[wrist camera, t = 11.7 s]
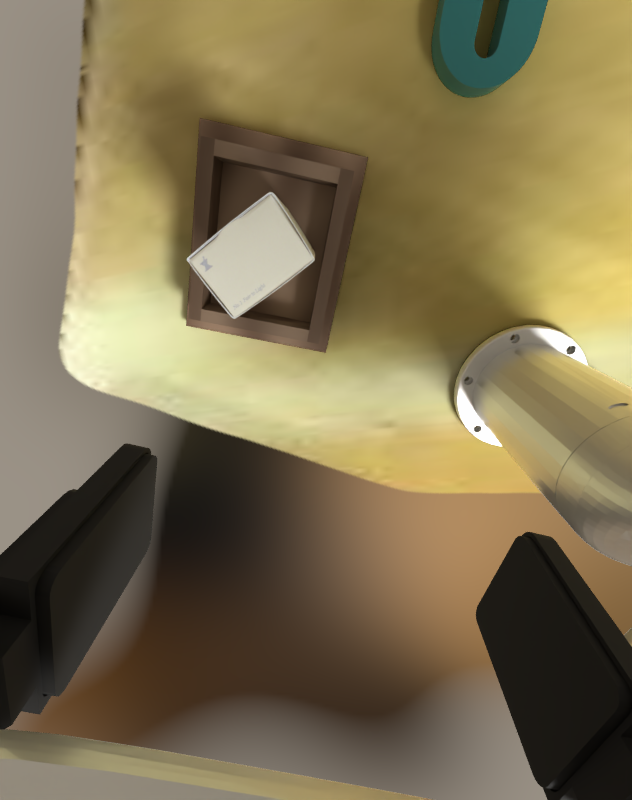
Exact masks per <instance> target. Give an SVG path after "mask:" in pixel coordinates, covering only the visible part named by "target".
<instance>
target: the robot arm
mask: <svg viewBox="0 0 632 800" xmlns="http://www.w3.org/2000/svg"><path fill="white" fill-rule="evenodd" d="M512 335H513V337H512V338H511V336H512ZM510 338H511V339H510ZM466 377H467V379H466V380H464V379H465V378H466ZM454 403H455V408H456V412H457V414H458V416H459V418H460V420H461V422H462V423H463V424H464V426H465V427H466V429H467V430H468V431H469V432H470V433H471V434H472V435H474V436H475V437H477V438H478V439H480V440H481V441H484V442H486V443H489V444H492V445H497V446H502V447H503V448H504V449H505V450H506V451H507V452H508V454H509V455H510V456H511V457H512V458H513V460H514V461H515V462H516V463H517V464H518V465H519V467H520V468H521V469H522V470H523V471H524V473H525V474H526V475H527V476H528V477H529V478H530V480H531V481H532V482H533V483H534V484H535V486H536V487H537V488H538V489H539V490H540V491H541V493H542V494H543V495H544V496H545V497H546V499H547V500H548V501H549V502H550V503H551V504H552V506H553V507H554V508H555V509H556V510H557V511H558V513H559V514H560V515H561V516H562V517H563V518H564V519H565V520H566V522H567V523H568V524H569V525H570V526H571V528H572V529H573V530H574V531H575V532H576V533H577V534H578V535H579V536H580V537H581V538H582V539H583V540H584V541H585V542H586V543H588V544H589V545H590V546H591V547H592V548H594V549H595V550H597V551H599V552H600V553H602V554H604V555H605V556H607V557H609V558H611V559H614V560H616V561H619V562H621V563H624V564H627V565H630V566H632V388H631V387H629V386H627V385H625V384H623V383H621V382H619V381H617V380H615V379H613V378H611V377H609V376H607V375H605V374H603V373H601V372H600V371H598V370H596V369H594V368H592V367H590V366H588V363H587V359H586V356H585V354H584V352H583V351H582V349H581V347H580V346H579V345H578V344H577V343H576V342H575V341H574V340H573V339H572V338H571V337H569V336H568V335H566V334H564V333H563V332H561V331H558V330H556V329H553V328H551V327H546V326H541V325H523V326H517V327H512V328H510V329H507V330H504V331H501V332H499V333H497V334H495V335H494V336H492V337H490V338H488V339H487V340H486V341H484V342H483V343H482V344H480V345H479V346H478V347H477V348H476V349H475V350H474V351H473V352H472V353H471V354H470V355H469V357H468V358H467V359H466V361H465V363H464V364H463V366H462V367H461V369H460V372H459V374H458V376H457V379H456V383H455V388H454ZM156 468H157V457H156V456H154V455H151V451H150V449H149V448H145V447H141V446H136V445H131V444H124V445H123V446H122V447H121V448H119V450H117V452H115V453H114V455H112V456H111V458H109V459H108V460H107V461H106V462H105V463H104V465H102V466H101V468H99V469H98V470H97V471H96V472H95V473H94V474H93V475H92V476H91V477H90V478H89V479H88V480H87V481H86V482H85V483H84V484H83V485H82V486H81V487H80V488H79V489H78V490H75V489H73V490H70V491H68V492H67V493H65V494H64V495H63V496H62V497H61V498H60V499H59V500H57V501H56V502H55V503H54V504H53V505H52V506H51V507H50V508H49V509H48V510H47V511H46V512H45V513H44V514H43V515H42V516H41V517H40V518H39V519H38V520H37V521H36V522H35V523H33V524H32V525H31V526H30V527H29V528H28V529H27V530H26V531H25V532H24V533H23V534H22V535H21V536H20V537H19V538H18V539H17V540H16V541H15V542H13V543H12V544H11V545H10V546H9V548H7V549H6V550H5V551H4V552H3V553H2V554H1V555H0V800H433V799H428V798H422V797H417V796H411V795H406V794H400V793H395V792H390V791H384V790H378V789H373V788H368V787H362V786H357V785H351V784H346V783H340V782H335V781H329V780H324V779H318V778H313V777H307V776H302V775H296V774H291V773H285V772H279V771H273V770H268V769H263V768H257V767H251V766H245V765H240V764H234V763H229V762H223V761H217V760H211V759H206V758H200V757H194V756H189V755H183V754H178V753H172V752H166V751H160V750H154V749H149V748H142V747H136V746H129V745H123V744H117V743H110V742H104V741H97V740H91V739H85V738H78V737H72V736H64V735H59V734H49V733H39V732H28V731H17V730H8V729H5V728H7V727H9V726H11V725H12V724H13V722H14V721H15V719H16V718H17V716H18V715H19V713H20V712H21V711H24V712H29V713H35V714H40V713H41V712H42V710H43V709H44V707H45V705H46V704H47V702H48V700H49V699H50V697H51V696H59V695H60V694H61V693H62V692H63V691H64V690H65V688H66V687H67V685H68V683H69V682H70V680H71V678H72V677H73V675H74V673H75V672H76V670H77V668H78V667H79V665H80V663H81V662H82V660H83V658H84V657H85V655H86V653H87V652H88V650H89V648H90V646H91V645H92V643H93V641H94V640H95V638H96V636H97V635H98V633H99V631H100V630H101V628H102V626H103V625H104V623H105V621H106V620H107V618H108V616H109V615H110V613H111V611H112V609H113V608H114V606H115V604H116V603H117V601H118V599H119V598H120V596H121V594H122V593H123V591H124V589H125V588H126V586H127V584H128V583H129V581H130V579H131V578H132V576H133V574H134V572H135V570H136V569H137V567H138V566H139V564H140V562H141V561H142V559H143V557H144V555H145V554H146V552H147V550H148V547H149V544H150V540H151V532H152V520H153V519H152V518H153V506H154V494H155V482H156ZM476 619H477V623H478V626H479V629H480V631H481V634H482V637H483V640H484V642H485V645H486V648H487V650H488V653H489V656H490V659H491V661H492V664H493V667H494V670H495V672H496V675H497V678H498V680H499V683H500V686H501V689H502V691H503V694H504V697H505V699H506V702H507V705H508V708H509V710H510V713H511V716H512V718H513V721H514V724H515V727H516V729H517V732H518V735H519V737H520V740H521V743H522V746H523V748H524V751H525V754H526V757H527V759H528V762H529V765H530V768H531V770H532V773H533V775H534V777H535V780H536V781H537V783H538V784H539V785H540V786H541V787H543V789H544V792H545V794H546V797H547V799H548V800H632V628H631V629H630V630H629V631H628V632H627V633H626V634H625V635H623V634H622V633H621V631H620V630H619V628H618V627H617V626H616V624H615V623H614V622H613V620H612V619H611V617H610V616H609V614H608V613H607V612H606V610H605V609H604V608H603V606H602V605H601V603H600V602H599V601H598V599H597V598H596V597H595V595H594V594H593V593H592V591H591V590H590V588H589V587H588V586H587V584H586V583H585V581H584V580H583V579H582V577H581V576H580V574H579V573H578V572H577V570H576V569H575V567H574V566H573V565H572V563H571V562H570V560H569V559H568V558H567V556H566V555H565V554H564V552H563V551H562V549H561V548H560V547H559V545H558V544H557V542H556V541H555V540H554V539H553V538H552V537H549V536H545V535H540V534H536V533H532V532H526V533H524V534H523V535H522V536H518V537H517V538H516V539H515V541H514V542H513V544H512V546H511V548H510V550H509V551H508V553H507V555H506V557H505V558H504V560H503V562H502V564H501V565H500V567H499V569H498V571H497V573H496V575H495V576H494V578H493V580H492V581H491V584H490V585H489V587H488V589H487V590H486V592H485V594H484V596H483V598H482V599H481V601H480V603H479V605H478V607H477V610H476Z"/></svg>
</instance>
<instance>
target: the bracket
mask: <svg viewBox="0 0 632 800" xmlns="http://www.w3.org/2000/svg"><path fill="white" fill-rule="evenodd" d="M483 1H484V0H439V2H438V8H437V13H436V19H435V24H434V29H433V35H432V59H433V64H434V67H435V70H436V72H437V75H438V77H439V78H440V80H441V81H442V83H443V84H444V85H445V86H446V87H447V88H448V89H449V90H450V91H452V92H453V93H455V94H457V95H460V96H463V97H479V96H483V95H486V94H488V93H490V92H492V91H494V90H495V89H497V88H498V87H499V86H501V85H502V84H503V83H505V82H506V81H507V80H508V79H510V78H511V77H512V76H513V75H515V74H516V73H517V72H518V71H519V70H520V68H521V67H522V66H523V65H524V64H525V62H526V61H527V59H528V58H529V56H530V54H531V52H532V50H533V48H534V46H535V44H536V41H537V38H538V35H539V31H540V28H541V24H542V20H543V17H544V13H545V9H546V6H547V2H548V0H500V2H499V7H498V11H497V15H496V20H495V24H494V28H493V33H492V37H491V41H490V45H489V50H488V54H487V58H481V57H479V56H478V55H477V53H476V51H475V48H474V42H475V37H476V33H477V28H478V24H479V19H480V15H481V10H482V6H483Z"/></svg>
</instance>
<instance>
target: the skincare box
mask: <svg viewBox="0 0 632 800" xmlns="http://www.w3.org/2000/svg"><path fill="white" fill-rule="evenodd" d="M186 260H187V261H188V263H189V264H190V265H191V266H192V268H193V269H194V271H195V272H196V273H197V275H198V276H199V277H200V279H201V280H202V281H203V283H204V284H205V285H206V287H207V288H208V289H209V290H210V292H211V293H212V294H213V296H214V297H215V298H216V299H217V301H218V302H219V303H220V304H221V306H222V307H223V308H224V309H225V310H226V312H227V313H228V314H229V315H230V317H232V318H233V319H235V318H237V317H238V316H240V315H242V314H243V313H245V312H246V311H248V310H249V309H251V308H252V307H254V306H255V305H256V304H258V303H259V302H261V301H262V300H264V299H265V298H266V297H268V296H269V295H270V294H272V293H273V292H275V291H276V290H277V289H279V288H280V287H281V286H283V285H284V284H285V283H287V282H288V281H289V280H291V279H292V278H293V277H295V276H296V275H297V274H299V273H300V272H301V271H302V270H304V269H305V268H306V267H307V266H309V265H310V264H311V263H313V262H314V261H315V251H314V250H313V248H312V246H311V245H310V243H309V241H308V240H307V238H306V236H305V235H304V233H303V232H302V230H301V228H300V227H299V225H298V224H297V222H296V220H295V219H294V217H293V216H292V214H291V213H290V211H289V210H288V209H287V208H286V206H285V205H284V204H283V203H282V202H281V201H280V200H279V199H278V198H277V196H276V195H275V194H274V193H273V192H269V193H267V194H266V195H264V196H263V197H262V198H260V199H259V200H258V201H256V202H255V203H254V204H252V205H251V206H250V207H249V208H247V209H246V210H245V211H243V212H242V213H241V214H239V215H238V216H237V217H236V218H234V219H233V220H232V221H230V222H229V223H228V224H227V225H226V226H224V227H223V228H222V229H221V230H220V231H218V232H217V233H216V234H215V235H213V236H212V237H211V238H210V239H209V240H207V241H206V242H205V243H204V244H203V245H202V246H200V247H199V248H198V249H197V250H196V251H195V252H193V253H192V254H191V255H190V256H188V257H187V259H186Z"/></svg>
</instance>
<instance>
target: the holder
mask: <svg viewBox="0 0 632 800" xmlns="http://www.w3.org/2000/svg"><path fill="white" fill-rule="evenodd" d="M367 160H368V157H364V156H360V155H356V154H352V153H347V152H343V151H339V150H334V149H330V148H326V147H322V146H317V145H313V144H309V143H305V142H300V141H296V140H292V139H288V138H283V137H279V136H275V135H270V134H266V133H262V132H258V131H253V130H249V129H245V128H241V127H236V126H232V125H228V124H224V123H219V122H215V121H211V120H206V119H202V118H200V122H199V138H198V153H197V169H196V184H195V200H194V215H193V230H192V246H191V254H192V253H193V252H195V251H196V250H197V249H198V248H199V247H200V246H202V245H203V244H204V243H205V242H206V241H207V240H209V239H210V238H211V237H212V236H213V235H215V234H216V233H217V232H218V231H220V230H221V229H222V228H223V227H224V226H226V225H227V224H228V223H229V222H230V221H232V220H233V219H234V218H236V217H237V216H238V215H239V214H241V213H242V212H243V211H245V210H246V209H247V208H249V207H250V206H251V205H252V204H254V203H255V202H256V201H258V200H259V199H260V198H262V197H263V196H264V195H266V194H267V193H269V192H273V193H274V194H275V195H276V196H277V198H278V199H279V200H280V201H281V202H282V203H283V204H284V205H285V206H286V208H287V209H288V210H289V211H290V213H291V214H292V216H293V217H294V219H295V220H296V222H297V224H298V225H299V227H300V228H301V230H302V232H303V233H304V235H305V236H306V238H307V240H308V241H309V243H310V245H311V246H312V248H313V250H314V251H315V261H314V262H313V263H311V264H310V265H309V266H307V267H306V268H305V269H304V270H302V271H301V272H300V273H299V274H297V275H296V276H295V277H293V278H292V279H291V280H289V281H288V282H287V283H285V284H284V285H283V286H281V287H280V288H279V289H277V290H276V291H275V292H273V293H272V294H270V295H269V296H268V297H266V298H265V299H264V300H262V301H261V302H259V303H258V304H256V305H255V306H254V307H252V308H251V309H249V310H248V311H246V312H245V313H243V314H242V315H240V316H238V317H237V318H235V319H233V318H232V317H230V315H229V314H228V313H227V312H226V310H225V309H224V308H223V307H222V306H221V304H220V303H219V302H218V301H217V299H216V298H215V297H214V296H213V294H212V293H211V292H210V290H209V289H208V288H207V287H206V285H205V284H204V283H203V281H202V280H201V279H200V277H199V276H198V275H197V273H196V272H195V271H194V269H193V268H192V266H191V265H190V277H189V292H188V308H187V323H186V326H191V327H196V328H201V329H206V330H211V331H217V332H222V333H227V334H232V335H237V336H242V337H248V338H253V339H258V340H263V341H268V342H274V343H279V344H284V345H289V346H294V347H299V348H305V349H310V350H315V351H320V352H325V353H326V349H327V345H328V340H329V335H330V331H331V326H332V322H333V317H334V312H335V308H336V303H337V299H338V294H339V289H340V285H341V280H342V276H343V271H344V266H345V262H346V257H347V252H348V248H349V243H350V239H351V234H352V229H353V225H354V220H355V216H356V211H357V206H358V202H359V197H360V193H361V188H362V183H363V179H364V174H365V170H366V165H367Z"/></svg>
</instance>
